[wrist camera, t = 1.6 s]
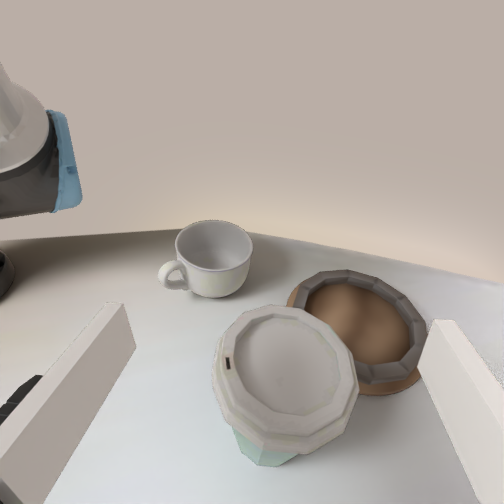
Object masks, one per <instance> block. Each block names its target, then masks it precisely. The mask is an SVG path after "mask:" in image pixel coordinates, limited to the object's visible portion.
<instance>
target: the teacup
mask: <svg viewBox="0 0 504 504" xmlns="http://www.w3.org/2000/svg"><path fill="white" fill-rule="evenodd" d="M175 249H176V252H177V260H171V261H168V262H167V263H165V264H164V265H163V266H162V267H161V268H160V270H159V273H158V279H159V282H160V283H161V284H162V285H163V286H164V287H165V288H167V289H173V290H177V289H183V290H191V291H192V292H194V293H196V294H198V295H201V296H204V297H210V298H216V297H223V296H227V295H229V294H232V293H233V292H235V291H236V290H238V289H239V288H240V287H241V286H242V285H243V283H244V282H245V280H246V277H247V275H248V271H249V266H250V260H251V255H252V253H253V242H252V239H251V238H250V236H249V235H248V233H247V232H246V231H245V230H244V229H242V228H240V227H239V226H237V225H235V224H232V223H229V222H225V221H219V220H205V221H199V222H196V223H193V224H191V225H189V226H187V227H185V228H184V229H183V230H181V231H180V232H179V234H178V236H177V237H176V240H175ZM177 269H178V270H179V274H180V277H181V280H176V281H170V280H168V276H169V274H170V273H171V272H172V271H174V270H177Z"/></svg>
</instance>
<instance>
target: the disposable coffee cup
mask: <svg viewBox="0 0 504 504" xmlns="http://www.w3.org/2000/svg"><path fill="white" fill-rule="evenodd" d="M212 385H213V390H214V393H215V396H216V398H217V401H218V404H219V406H220V409H221V411H222V414H223V417H224V419H225V421H226V422H227V423H228V424H230V425H231V426H232V429H233V432H234V434H235V437H236V439H237V442H238V444H239V447H240V450H241V452H242V453H243V454H244V455H245V456H247V457H248V458H249V459H250V460H251V461H253V462H254V463H255V464H256V465H259V466H269V467H278V466H279V465H281V464H283V463H284V462H286V461H288V460H289V459H291V458H293V457H294V456H296V455H298V454H305V455H308V454H310V453H311V452H313V451H315V450H316V449H318V448H320V447H321V446H323V445H325V444H326V443H328V442H330V441H331V440H333V439H335V438H336V437H338V436H340V435H341V434H343V433H344V431H345V428H346V426H347V423H348V421H349V418H350V416H351V413H352V410H353V408H354V405H355V403H356V400H357V397H358V393H359V385H358V380H357V375H356V370H355V365H354V361H353V356H352V353H351V352H350V350H349V349H348V348H347V347H346V345H345V344H344V343H343V341H342V340H341V339H340V338H339V336H338V335H337V334H336V333H335V331H334V330H333V329H332V327H331V326H330V325H328V324H326V323H324V322H323V321H321V320H319V319H317V318H316V317H314V316H312V315H311V314H309V313H307V312H305V311H304V310H302V309H299V308H292V307H285V306H278V305H267V306H264V307H260V308H257V309H254V310H250V311H247V312H244V313H243V314H242V315H241V316H240V317H238V319H237V320H236V321H235V322H234V323H233V324H232V325H231V326H230V327H229V328H228V329H227V331H226V332H225V333H224V334H223V336H222V337H221V338H220V339H219V340H218V344H217V346H216V352H215V357H214V363H213V368H212Z"/></svg>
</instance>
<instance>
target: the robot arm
mask: <svg viewBox="0 0 504 504" xmlns="http://www.w3.org/2000/svg"><path fill="white" fill-rule="evenodd" d="M81 201H82V191H81V186H80V181H79V176H78V172H77V167H76V162H75V157H74V152H73V147H72V142H71V137H70V133H69V128H68V123H67V119H66V117H65V115H64V114H62V113H61V112H55V111H52V110H45V109H44V107H43V106H42V104H41V103H40V101H39V100H38V99H37V98H36V97H35V96H34V95H33V94H32V93H30V92H29V91H28V90H26V89H25V88H23V87H21V86H20V85H18V84H16V83H13V82H11V81H10V79H9V77H8V75H7V73H6V72H5V70H4V68H3V66H2V64H1V63H0V219H5V218H12V217H19V216H25V215H32V214H38V213H44V212H50V213H55V212H57V211H58V210H63V209H68V208H73V207H75V206H77V205H79V204H80V202H81ZM14 275H15V269H14V266H13V265H12V263H11V261H10V260H9V258H8V257H7V255H6V254H5V253H4V252H3V251H2V250H1V249H0V297H1V296H2V295H3V294H4V293H5V292H6V291H7V290H8V288H9V287H10V285H11V284H12V282H13V279H14ZM135 349H136V344H135V341H134V337H133V334H132V331H131V327H130V324H129V321H128V318H127V314H126V311H125V308H124V304H123V303H113V302H107V303H106V304H105V305H104V306H103V308H102V309H101V310H100V311H99V312H98V313H97V315H96V316H95V317H94V318H93V319H92V320H91V321H90V323H89V324H88V325H87V326H86V327H85V328H84V330H83V331H82V332H81V333H80V334H79V335H78V337H77V338H76V339H75V340H74V341H73V342H72V343H71V345H70V346H69V347H68V348H67V349H66V350H65V352H64V353H63V354H62V355H61V356H60V357H59V358H58V360H57V361H56V362H55V363H54V364H53V365H52V367H51V368H50V369H49V370H48V371H47V372H46V374H45V375H44V376H42V375H35V376H34V377H32V378H31V379H30V380H28V381H27V382H26V383H24V384H23V385H21V386H20V387H19V388H18V389H17V390H16V391H15V392H14V394H13V395H12V396H11V397H10V398H9V399H8V400H7V403H6V404H3V406H2V407H1V408H0V504H43V503H44V501H45V499H46V497H47V496H48V494H49V492H50V491H51V489H52V487H53V486H54V484H55V482H56V481H57V479H58V477H59V476H60V474H61V472H62V471H63V469H64V467H65V466H66V464H67V462H68V461H69V459H70V457H71V456H72V454H73V452H74V451H75V449H76V447H77V446H78V444H79V442H80V441H81V439H82V437H83V436H84V434H85V432H86V431H87V429H88V427H89V426H90V424H91V422H92V421H93V419H94V417H95V416H96V414H97V412H98V411H99V409H100V407H101V406H102V404H103V402H104V401H105V399H106V397H107V396H108V394H109V392H110V391H111V389H112V387H113V386H114V384H115V382H116V381H117V379H118V377H119V376H120V374H121V372H122V371H123V369H124V367H125V366H126V364H127V362H128V361H129V359H130V357H131V356H132V354H133V352H134V351H135ZM417 368H418V370H419V372H420V374H421V376H422V379H423V381H424V383H425V385H426V387H427V390H428V392H429V394H430V396H431V398H432V400H433V403H434V405H435V407H436V409H437V411H438V414H439V416H440V418H441V420H442V422H443V424H444V427H445V429H446V431H447V433H448V435H449V438H450V440H451V442H452V444H453V446H454V449H455V451H456V453H457V455H458V457H459V459H460V462H461V464H462V466H463V468H464V470H465V473H466V475H467V477H468V479H469V481H470V483H471V486H472V488H473V490H474V492H475V494H476V497H477V499H478V501H479V503H480V504H504V389H503V388H502V386H501V385H500V384H499V382H498V381H497V379H496V378H495V377H494V375H493V374H492V372H491V371H490V370H489V368H488V367H487V365H486V364H485V363H484V361H483V360H482V358H481V357H480V356H479V354H478V353H477V351H476V350H475V349H474V347H473V346H472V344H471V343H470V342H469V340H468V339H467V337H466V336H465V335H464V333H463V332H462V330H461V329H460V327H459V326H458V325H457V323H456V322H455V320H442V319H434V320H433V323H432V325H431V328H430V331H429V334H428V337H427V340H426V343H425V346H424V348H423V351H422V354H421V357H420V360H419V363H418V366H417Z"/></svg>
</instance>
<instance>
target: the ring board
mask: <svg viewBox="0 0 504 504" xmlns="http://www.w3.org/2000/svg"><path fill="white" fill-rule="evenodd" d="M286 307H292V308H299V309H302V310H304V311H305V312H307V313H309V314H311V315H312V316H314V317H316V318H317V319H319V320H321V321H323V322H324V323H326V324H328V325H330V326H331V327H332V329H333V330H334V331H335V333H336V334H337V335H338V336H339V338H340V339H341V340H342V341H343V343H344V344H345V345H346V347H347V348H348V349H349V350H350V352H351V353H352V356H353V361H354V365H355V370H356V375H357V380H358V385H359V393H358V394H363V395H371V396H383V395H391V394H395V393H398V392H401V391H403V390H405V389H407V388H409V387H410V386H411V385H413V384H414V383H415V382H416V381H417V380H418V379H419V378H420V377H421V374H420V372H419V370H418V368H417V366H418V363H419V360H420V357H421V354H422V351H423V348H424V346H425V343H426V340H427V337H428V335H427V332H426V325H425V321H424V320H423V318H422V317H421V316H420V314H419V313H418V312H417V310H416V309H415V308H414V306H413V305H412V304H411V302H410V301H409V300H408V298H407V297H406V296H405V295H403V294H402V293H400V292H399V291H397V290H396V289H394V288H393V287H391V286H390V285H388V284H386V283H385V282H383V281H382V280H380V279H379V278H377V277H373V276H369V275H366V274H362V273H358V272H355V271H351V270H336V271H324V272H319V273H317V274H316V275H314V276H313V277H311V278H309V279H307V280H305V281H303V282H302V283H300V284H299V285H298V286H297V287H296V288H295V289H294V290H293V292H292V293H291V295H290V297H289V299H288V302H287V305H286Z"/></svg>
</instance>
